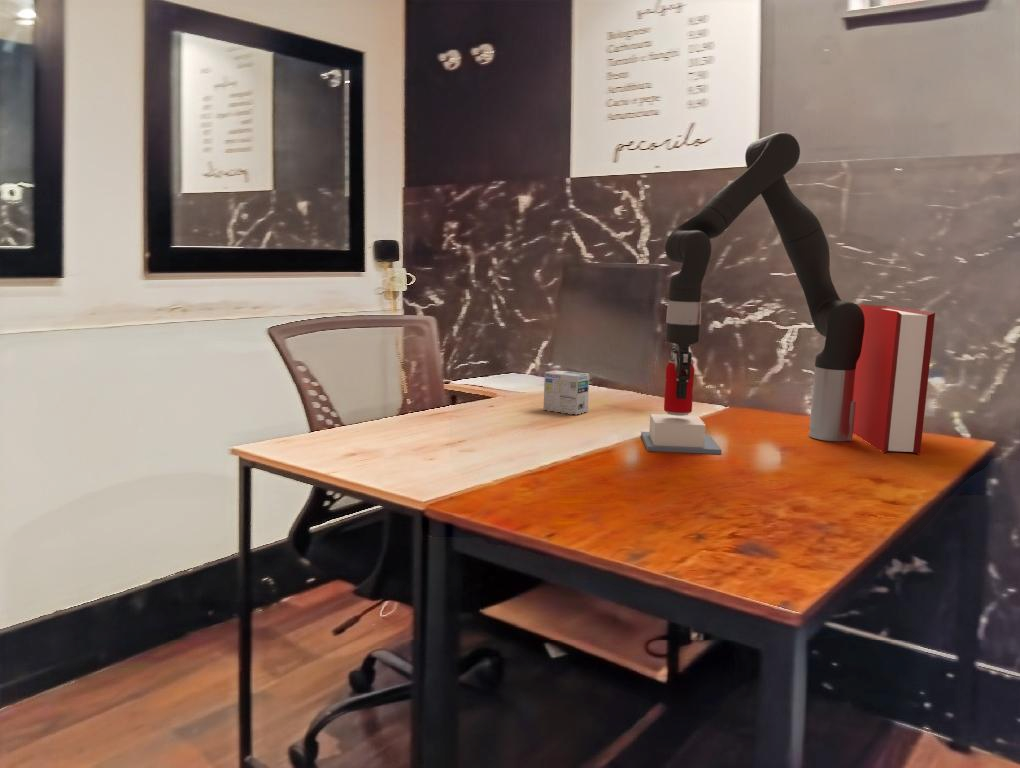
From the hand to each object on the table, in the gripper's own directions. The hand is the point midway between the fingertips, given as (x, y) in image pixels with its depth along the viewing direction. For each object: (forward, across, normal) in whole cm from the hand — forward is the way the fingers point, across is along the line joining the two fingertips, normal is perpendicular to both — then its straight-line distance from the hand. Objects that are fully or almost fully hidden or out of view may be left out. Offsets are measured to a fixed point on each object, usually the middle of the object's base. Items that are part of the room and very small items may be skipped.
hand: (678, 395), depth 189 cm
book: (+12, +15, -51) cm, 54 cm away
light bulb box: (+12, +37, +25) cm, 46 cm away
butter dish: (+11, +1, -1) cm, 11 cm away
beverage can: (+4, 0, 0) cm, 4 cm away
